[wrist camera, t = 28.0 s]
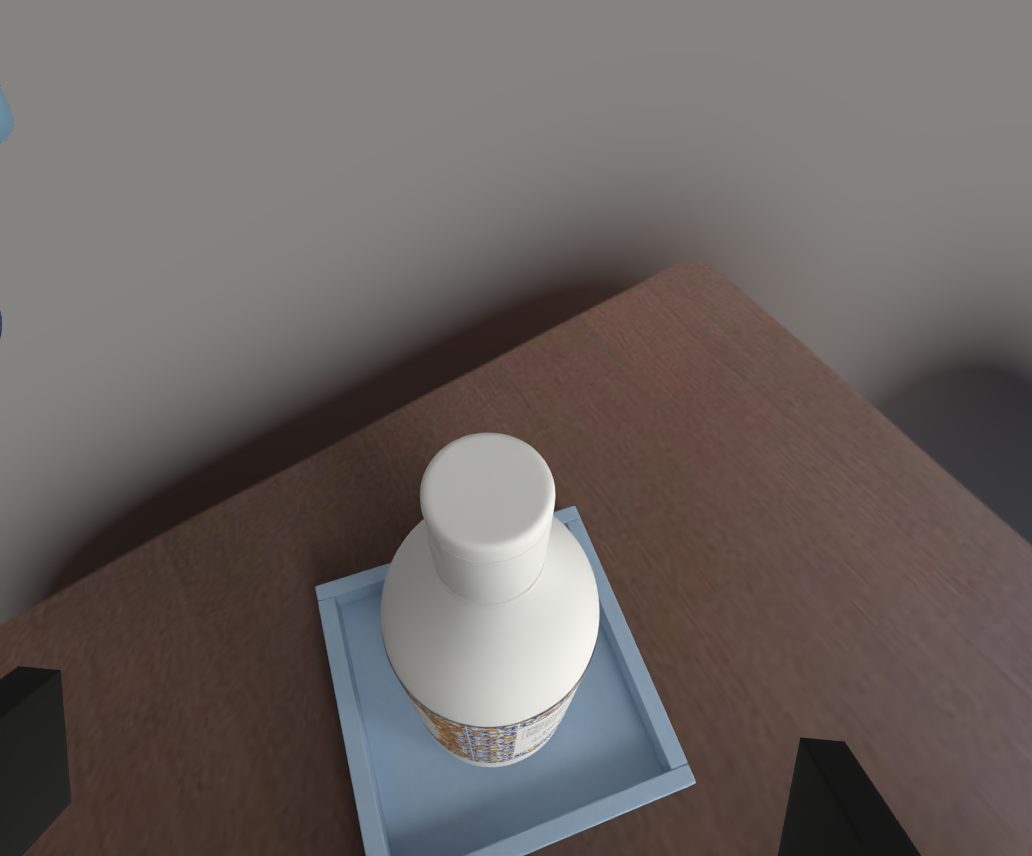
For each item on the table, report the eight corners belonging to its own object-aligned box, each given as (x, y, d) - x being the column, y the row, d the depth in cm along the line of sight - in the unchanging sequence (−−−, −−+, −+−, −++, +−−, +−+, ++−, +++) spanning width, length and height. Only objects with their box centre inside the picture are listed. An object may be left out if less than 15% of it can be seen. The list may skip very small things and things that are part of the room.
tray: (324, 599, 33) (314, 586, 31) (571, 521, 36) (575, 504, 34) (384, 912, 26) (376, 917, 25) (685, 786, 29) (696, 782, 27)
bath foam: (398, 647, 31) (285, 415, 15) (528, 591, 33) (560, 324, 16) (450, 798, 28) (379, 720, 11) (592, 727, 30) (715, 566, 13)
